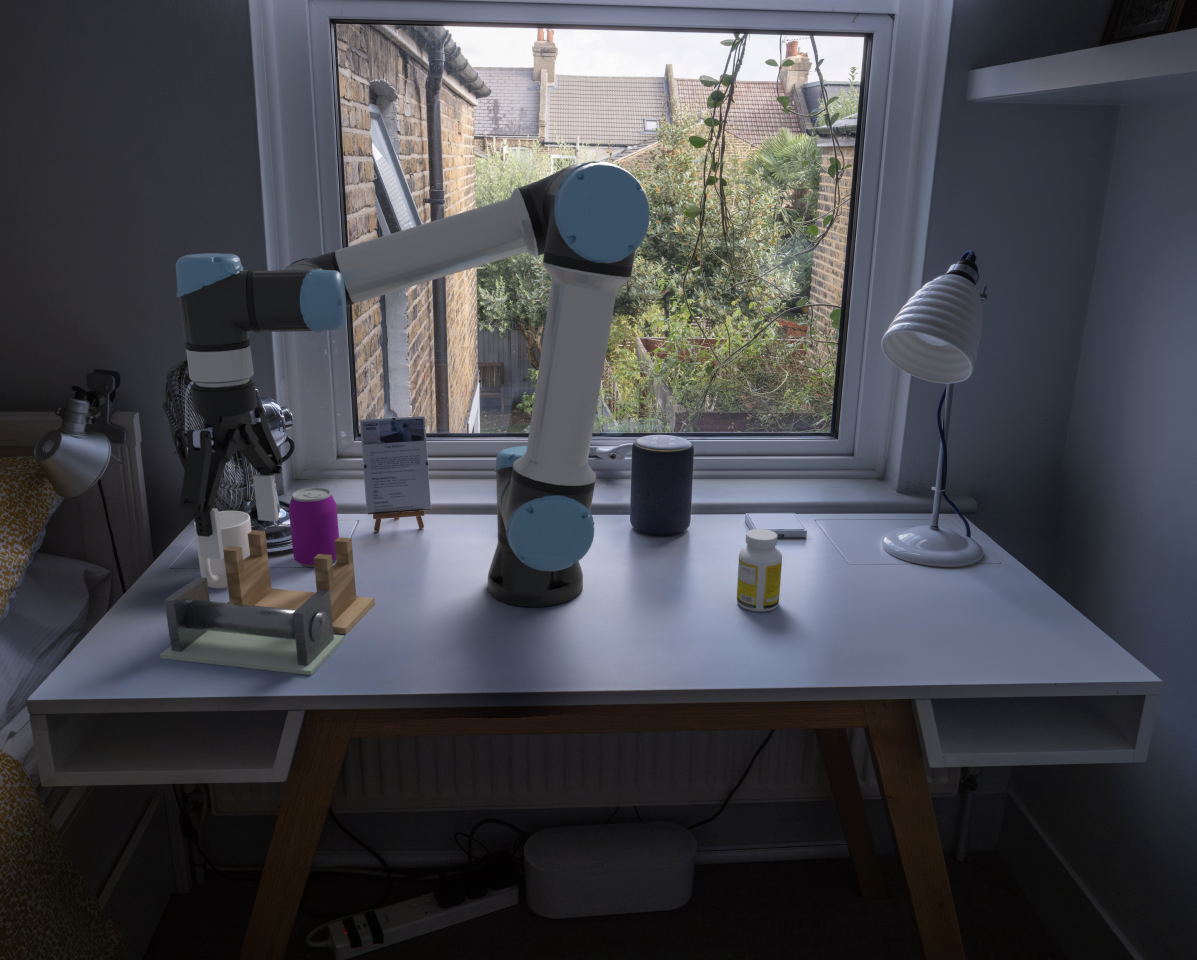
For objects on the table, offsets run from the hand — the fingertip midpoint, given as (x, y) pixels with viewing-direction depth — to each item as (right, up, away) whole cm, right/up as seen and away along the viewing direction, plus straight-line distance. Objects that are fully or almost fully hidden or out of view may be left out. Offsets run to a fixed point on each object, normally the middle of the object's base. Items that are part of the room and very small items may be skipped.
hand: (242, 537), depth 123 cm
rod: (0, -15, +5) cm, 16 cm away
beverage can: (0, -6, +35) cm, 35 cm away
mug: (-12, -9, +25) cm, 30 cm away
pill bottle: (+72, -12, +20) cm, 76 cm away
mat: (0, -16, +5) cm, 17 cm away
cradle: (+2, -12, +16) cm, 20 cm away
